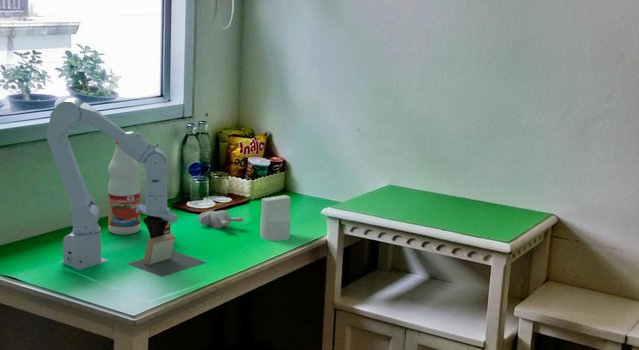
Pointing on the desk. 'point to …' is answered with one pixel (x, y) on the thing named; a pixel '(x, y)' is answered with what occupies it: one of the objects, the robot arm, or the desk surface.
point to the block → (159, 249)
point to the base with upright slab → (275, 218)
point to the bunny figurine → (217, 219)
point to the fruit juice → (123, 194)
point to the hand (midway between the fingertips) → (156, 243)
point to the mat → (169, 264)
